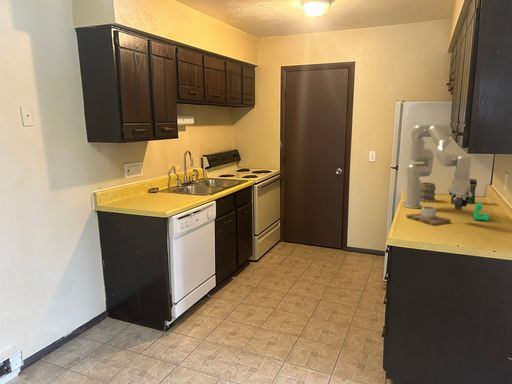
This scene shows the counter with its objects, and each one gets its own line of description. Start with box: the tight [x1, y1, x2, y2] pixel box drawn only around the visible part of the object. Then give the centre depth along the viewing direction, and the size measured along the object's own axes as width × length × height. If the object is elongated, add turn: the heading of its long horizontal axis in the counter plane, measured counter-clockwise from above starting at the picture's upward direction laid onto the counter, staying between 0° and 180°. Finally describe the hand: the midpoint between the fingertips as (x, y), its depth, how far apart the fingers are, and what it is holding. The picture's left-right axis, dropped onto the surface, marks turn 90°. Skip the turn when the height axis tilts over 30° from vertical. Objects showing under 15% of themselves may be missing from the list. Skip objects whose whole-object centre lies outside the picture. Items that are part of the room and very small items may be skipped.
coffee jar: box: [460, 178, 478, 205], centre depth 281 cm, size 10×8×19 cm
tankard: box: [420, 182, 437, 203], centre depth 291 cm, size 20×13×15 cm, turn 68°
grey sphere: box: [451, 196, 464, 211], centre depth 225 cm, size 7×7×7 cm
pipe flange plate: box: [406, 205, 452, 226], centre depth 229 cm, size 20×15×8 cm
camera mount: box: [473, 202, 490, 222], centre depth 232 cm, size 12×8×10 cm, turn 144°
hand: (458, 204), depth 225 cm, fingers closed on grey sphere, 7 cm apart
